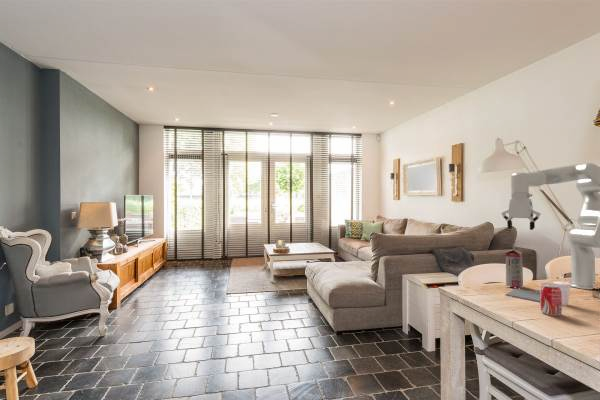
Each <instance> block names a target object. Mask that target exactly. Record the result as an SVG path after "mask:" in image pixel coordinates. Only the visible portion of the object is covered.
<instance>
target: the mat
mask: <svg viewBox="0 0 600 400" xmlns="http://www.w3.org/2000/svg"><path fill="white" fill-rule="evenodd" d="M506 295H507V297H511V296H512V297H511V298H516V297H517V299H522V300H527V301H532V302H537V303H540V292H537V291H532V290H525V289H522V288H521V289H517V288H513V290H510V291H509V292H507V293H505V296H506Z"/></svg>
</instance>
